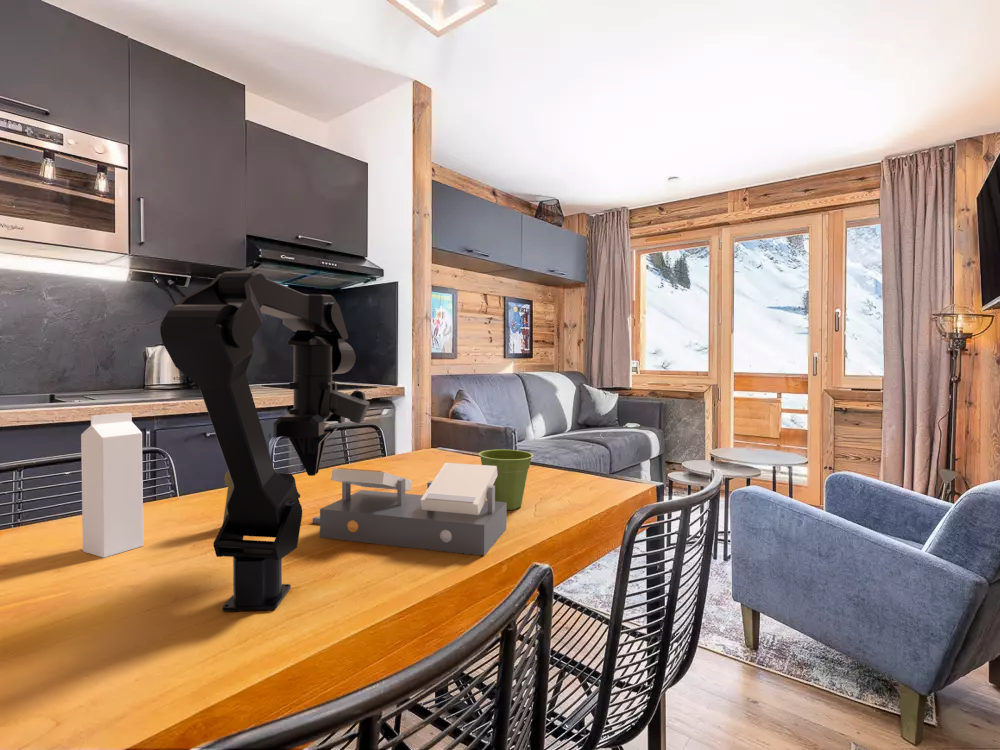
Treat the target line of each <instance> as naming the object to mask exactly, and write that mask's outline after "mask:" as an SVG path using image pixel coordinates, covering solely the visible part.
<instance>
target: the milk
mask: <svg viewBox="0 0 1000 750" xmlns="http://www.w3.org/2000/svg"><path fill="white" fill-rule="evenodd" d="M132 418H133V417H132V413H131V412H118V413H110V414H109V413H108V414H97V415H91V417H90V426H89V427H88V428H86V429H85V430H84V431H83V432H82V433H81V434H80V439H81V442H80V443H81V447H80V449H81V506H82V507H81V509H82V510H81V511H82V512H81V514H82V516H81V517H82V518H81V519H82V520H81V521H82V525H81V526H82V552H83V553H87V554H91V555H94V556H97V557H98V558H103V559H105V558H108V557H111V556H115V555H118V554H121V553H124V552H128V551H131V550H134V549H138V548H141V547H143V546H144V502H143V500H144V498H143V497H144V495H143V493H144V491H143V489H144V486H143V482H144V481H143V480H144V477H143V432H142V431H141V430H140V428H138V427H137V425H136V424H134V422H133V419H132Z"/></svg>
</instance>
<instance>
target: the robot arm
mask: <svg viewBox="0 0 1000 750" xmlns="http://www.w3.org/2000/svg"><path fill="white" fill-rule="evenodd" d="M238 307H239V308H238ZM262 314H265V315H269V316H272V317H275V318H277V319H281V321H282V324H283V326H285V327H286V328H288V329H289V330H291V331H292V332H293V335H292V336H291V337H289V338H288V340H287V345H288V346H292V347H293V381H290V382H289V390H293V408H290V409H289V414H284V415H282V416H280V417H278V418H277V420H275V421H274V422H273V437H275V438H288V440H289V441H290V443H291V445H292V447H293V449H294V450H295V452H296V453H297V457H298V458H299V460H300V462H301V464H302V466H303V469H304V470H305V471H306V474H307V476H309V477H311V476H312V477H314V476H316V475H317V474H318V473H319V470H320V466H321V463H322V458H323V455H324V451H325V447H326V443H327V440H328V438H330V436H332V435H333V433H335V432H336V431H337V430H338V427H337V426H332V427H331V426H329V425H330V422H337V423H338V424H343V423H345V422H346V420H347V419H348V420H349V422H351V423H355V424H360V423H362V422H364V420H365V417H366V414H367V412H368V410H369V409H370V403H371V402H370V401H369V400H367V399H366V392H364V391H361V390H358V389H357V390H356V389H355V390H354V391H353V392H352V393H350V394H349V393H347V392H346V393H345V392H341V391H339V390H338V383H336V380H335V381H333V375H337V374H338V375H339V374H345V373H347V372H349V371H351V370H352V369H353V367H354V366H355V363H356V358H357V357H356V353H355V351H354V348H353V347H352V346H351V344H349V343H348V342H346V341H345V340H348V339H349V334H348V331H347V330H348V329H347V328H346V323H345V321H344V318H343V313H342V311H341V307H340V304H339V303H338V302H337V300H336V299H335V297H334V296H332V295H331V294H315V293H314V294H311V293H310V294H309V293H308V294H307V293H303V292H300V291H297V290H295V289H293V288H291V287H288V286H286V285H283V284H281V283H278V282H276V281H274V280H271V279H270V278H266V276H265V275H264V274H262V273H259V272H257V271H253V270H252V271H225V272H223V273H220V274H217V275H216V277H215V278H214V279H213V280H212V281H211V282H210V283H209V284H207V285H205V286H203V287H200V288H199V289H198V290H195V291H194V292H192V293H190V294H188V295H186V296H184V297H182V298H181V300H179V302H178V303H177V304H175V305H174V306H172V307H171V308H170V309H168V311H167V313H166V314H165V316H164V318H163V319H162V321H161V323H160V325H159V334H160V340H161V342H162V344H163V346H164V348H165V351H167V353H168V355H169V358H170V359H171V360H172V361H171V362H172V363H173V365H174V367H176V369H177V370H179V372H181V373H182V374H183V375H185V376H186V377H187V378H188V379H189V380H190V381H192V382H193V383H195V385H196V386H198V388H199V391H200V393H201V396H202V397H201V398H202V399H203V401H204V406H205V407H206V411H207V413H208V416H209V420H210V422H211V424H212V429H213V431H214V434H215V436H216V440H217V442H218V445H219V447H220V450H221V454H222V457H223V459H224V462H225V465H226V467H227V471H229V474H230V477H231V479H232V482H233V490H232V492H231V495H230V497H229V499H228V502H227V505H226V504H225V505H226V507H227V511H228V515H227V517H226V519H225V521H224V523H223V522H222V525H221V526H220V529H219V531H218V533H217V535H216V536H215V539H214V541H213V544H212V545H213V548H214V551H215V552H214V554H215V555H216V557H217V558H222V557H229V558H232V575H233V576H232V578H233V584H232V585H233V586H232V587H233V589H232V593H233V594H232V596H230V597H229V598H228V599H227V601H226V602H225V603H224V604H222V606H221V610H222V611H223V612H224V611H225V612H228V611H229V612H232V611H234V612H235V611H236V612H238V611H265V610H266V611H267V610H268V611H269V610H270V611H271V610H276V609H277V608H278V607H279V605H280V604H281V602H282V601H283V599H284V598H285V597H286V595H287V594H288V593H289V591H290V590H291V588H292V587H291V584H290V583H286V584H285V583H283V577H282V575H283V573H282V572H283V569H282V568H283V566H282V565H283V562H282V560H283V558H285V557H286V556H288V555H289V554H291V553H292V552H293V551H295V550H296V549H297V548H298V545H299V544H298V543H299V536H300V532H301V531H300V530H301V525H302V521H303V520H302V519H303V508H302V507H303V506H302V504H301V502H300V498H301V494H300V493H299V492H298V489H297V488H298V487H297V486H296V485H297V484H296V478H295V477H294V475H293V474H292V473H289V472H277V471H276V470H275V467H274V464H273V461H272V456H271V454H270V451H269V448H268V444H267V441H266V437H265V435H264V430H263V428H262V424H261V420H260V418H259V414H258V410H257V407H256V405H255V401H254V398H253V394H252V390H251V388H250V384H249V381H248V377H247V373H246V372H247V369H248V367H249V364H250V362H251V359H252V357H253V354H254V352H255V349H254V343H253V338H254V336H255V335H256V333H257V332H258V331H259V329H260V328H261V327H262V325H263V322H264V321H263V316H262ZM245 537H257V538H258V537H259V538H260V537H261V538H274V541H273V540H272V541H271V540H254V539H253V540H251V539H244V538H245Z"/></svg>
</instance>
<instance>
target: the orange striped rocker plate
mask: <svg viewBox="0 0 1000 750" xmlns="http://www.w3.org/2000/svg"><path fill="white" fill-rule="evenodd" d="M401 478H402V479H405V492H407V491H408V492H411V491H412V484H413V480H412V479H410V478H407V477H404V476H403V477H402V476H399V475H395V474H392V473H390V472H389V473H388V472H385V471H384V470H383V471H382V470H371V469H357V468H346V467H345V468H344V467H338V468H332V470H331V476H330V480H331V481H334V482H339V483H342V482H343V483H348V484H351V486H352V485H353V486H358V487H362V488H374V489H383V490H384V489H385V490H397V480H399V479H401Z"/></svg>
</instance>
